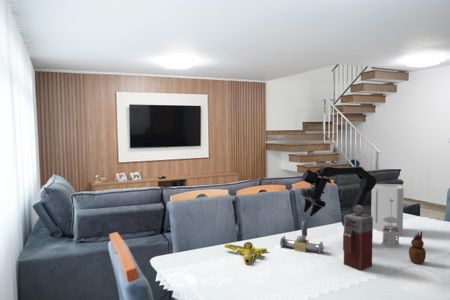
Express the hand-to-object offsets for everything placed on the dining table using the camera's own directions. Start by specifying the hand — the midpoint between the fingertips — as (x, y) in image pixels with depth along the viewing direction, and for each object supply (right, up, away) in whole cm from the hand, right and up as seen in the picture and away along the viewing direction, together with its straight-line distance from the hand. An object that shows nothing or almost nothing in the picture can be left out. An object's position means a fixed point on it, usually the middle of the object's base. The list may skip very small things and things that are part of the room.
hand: (307, 214), depth 181 cm
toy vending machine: (+15, -19, -28) cm, 37 cm away
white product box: (+58, -15, +25) cm, 65 cm away
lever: (-3, -13, -3) cm, 13 cm away
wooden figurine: (+45, -18, -25) cm, 55 cm away
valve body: (-5, -17, -6) cm, 19 cm away
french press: (+45, -17, 0) cm, 48 cm away
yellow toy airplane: (-35, -19, -15) cm, 42 cm away
